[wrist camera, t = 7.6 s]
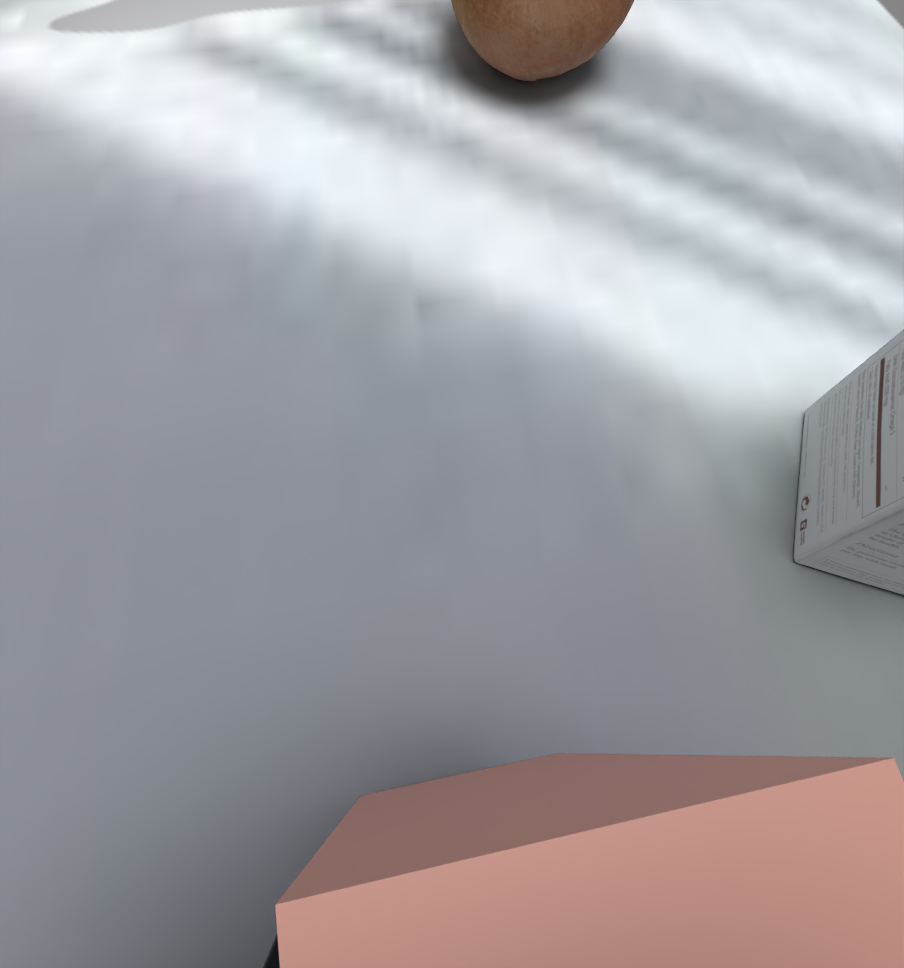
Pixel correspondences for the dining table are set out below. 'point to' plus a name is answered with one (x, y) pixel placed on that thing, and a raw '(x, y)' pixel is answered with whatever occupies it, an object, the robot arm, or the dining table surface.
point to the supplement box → (856, 475)
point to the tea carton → (612, 868)
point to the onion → (539, 32)
